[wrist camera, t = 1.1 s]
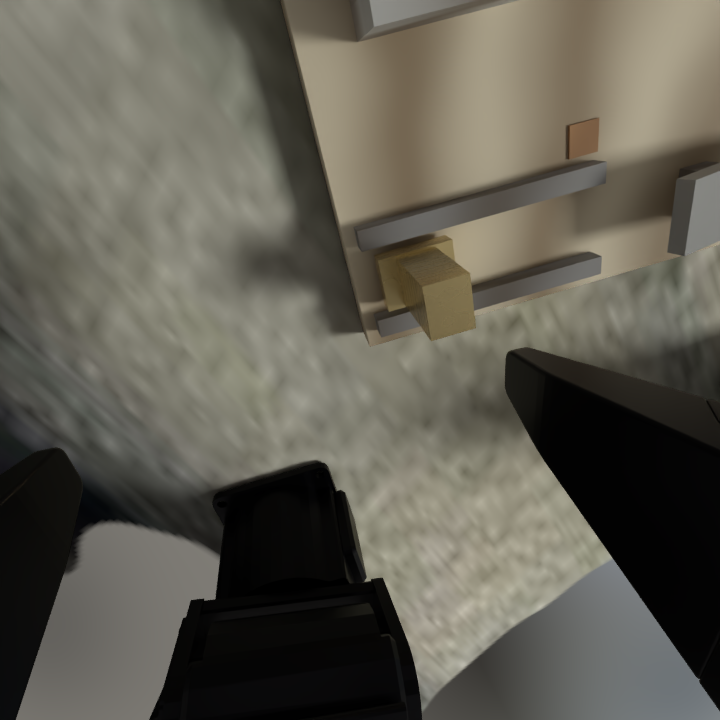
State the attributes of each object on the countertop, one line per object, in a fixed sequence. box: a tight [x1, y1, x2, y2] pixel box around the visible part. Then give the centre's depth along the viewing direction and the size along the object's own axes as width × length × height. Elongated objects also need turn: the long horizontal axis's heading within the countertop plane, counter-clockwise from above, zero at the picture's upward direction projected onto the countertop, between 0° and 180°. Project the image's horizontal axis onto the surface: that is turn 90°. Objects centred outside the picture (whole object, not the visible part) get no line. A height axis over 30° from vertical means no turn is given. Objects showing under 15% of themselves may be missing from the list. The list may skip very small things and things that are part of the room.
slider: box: [374, 235, 476, 341], centre depth 16 cm, size 3×2×4 cm
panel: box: [280, 0, 720, 347], centre depth 15 cm, size 18×18×4 cm
